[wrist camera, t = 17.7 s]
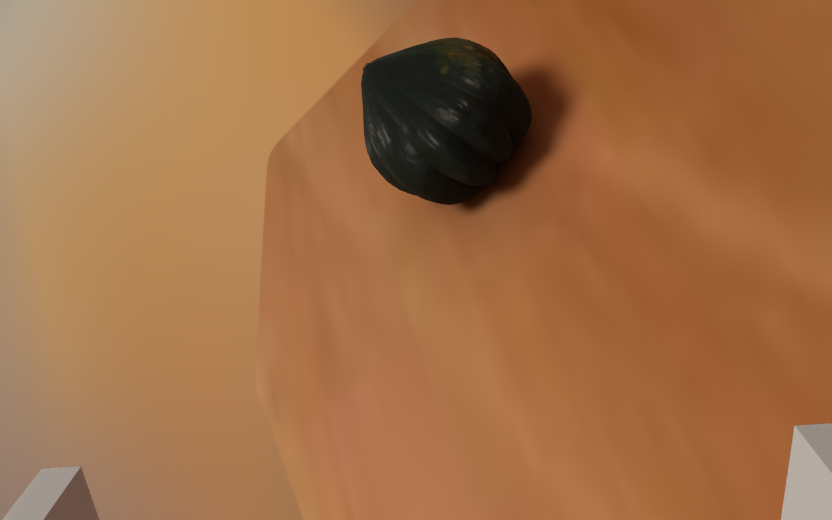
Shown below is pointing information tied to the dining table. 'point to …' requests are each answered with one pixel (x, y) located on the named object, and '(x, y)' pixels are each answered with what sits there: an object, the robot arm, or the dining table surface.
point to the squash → (441, 118)
